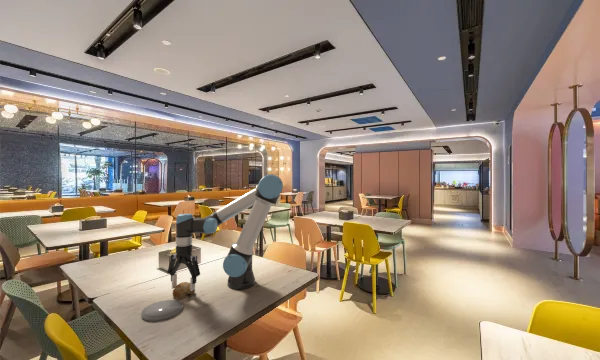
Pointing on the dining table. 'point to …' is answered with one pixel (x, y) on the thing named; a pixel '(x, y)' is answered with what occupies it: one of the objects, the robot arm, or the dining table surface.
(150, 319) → the plate
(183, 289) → the bread roll
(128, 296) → the dining table surface
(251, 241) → the robot arm
